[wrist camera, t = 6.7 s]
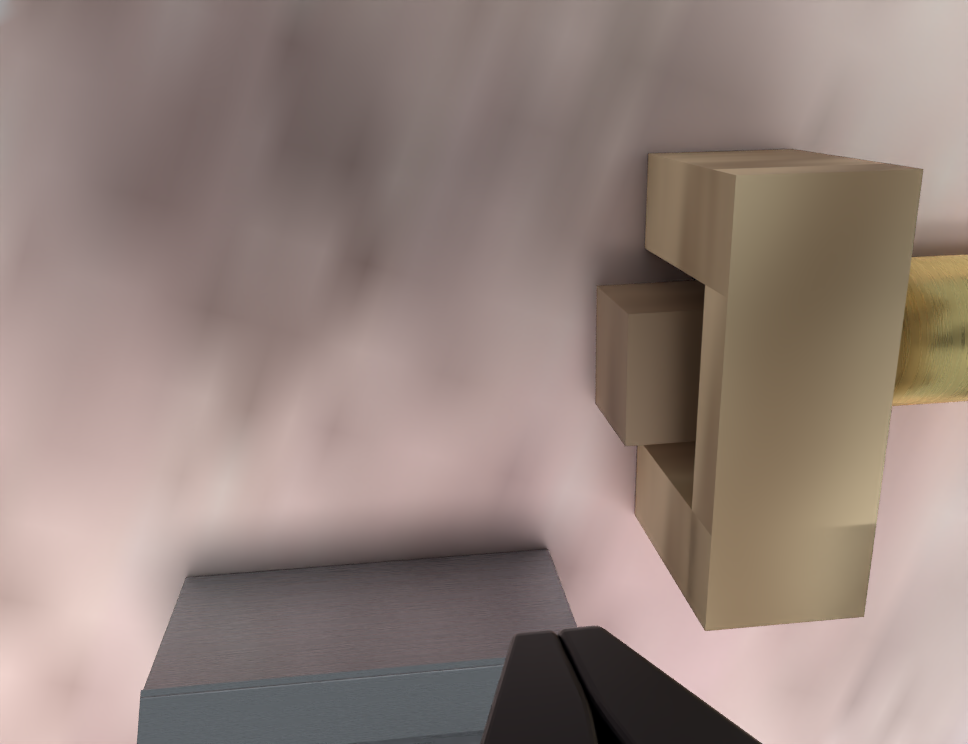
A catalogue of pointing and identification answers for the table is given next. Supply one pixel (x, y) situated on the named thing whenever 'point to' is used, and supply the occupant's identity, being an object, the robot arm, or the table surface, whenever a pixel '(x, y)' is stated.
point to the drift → (649, 359)
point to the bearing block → (780, 378)
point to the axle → (934, 333)
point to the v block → (346, 651)
